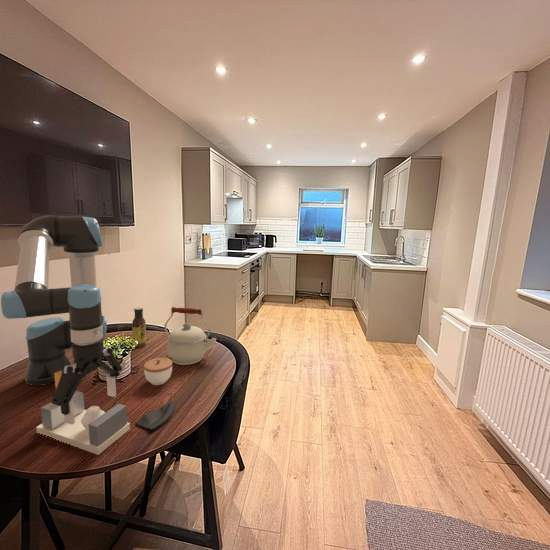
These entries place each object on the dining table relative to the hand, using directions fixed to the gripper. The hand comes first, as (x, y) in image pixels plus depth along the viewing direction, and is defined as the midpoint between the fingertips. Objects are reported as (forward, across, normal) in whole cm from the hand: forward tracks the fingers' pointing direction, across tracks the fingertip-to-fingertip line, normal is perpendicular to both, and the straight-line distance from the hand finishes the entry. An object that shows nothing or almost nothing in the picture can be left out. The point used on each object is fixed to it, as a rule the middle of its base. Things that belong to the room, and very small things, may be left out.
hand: (92, 408), depth 85 cm
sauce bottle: (+10, +56, +36) cm, 67 cm away
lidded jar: (+9, +31, +2) cm, 32 cm away
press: (+8, 0, +4) cm, 9 cm away
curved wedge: (+9, +12, -13) cm, 20 cm away
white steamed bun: (+6, 0, -1) cm, 7 cm away
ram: (+6, 0, +12) cm, 13 cm away
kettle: (+9, +53, +2) cm, 54 cm away
